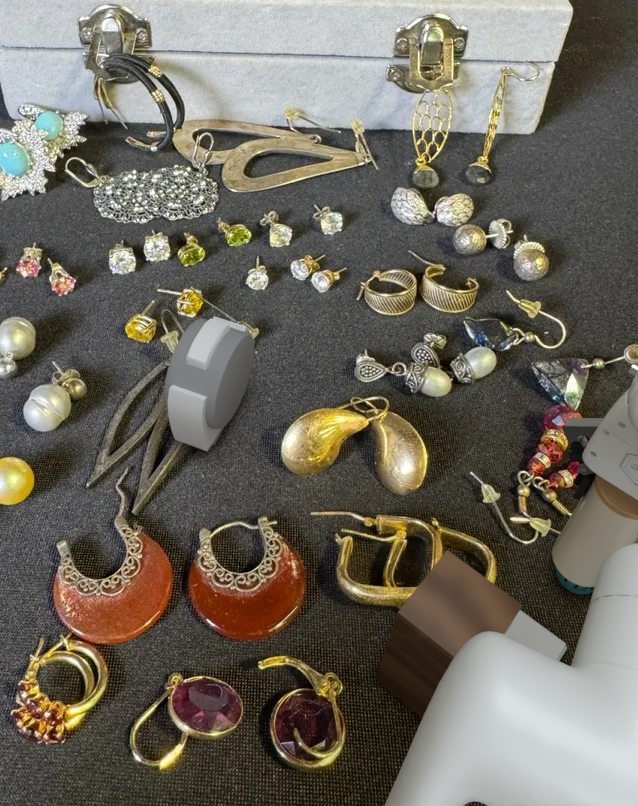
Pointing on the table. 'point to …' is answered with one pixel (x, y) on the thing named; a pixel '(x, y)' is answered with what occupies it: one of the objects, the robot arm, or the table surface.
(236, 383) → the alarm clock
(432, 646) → the wooden block
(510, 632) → the scale
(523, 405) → the table surface
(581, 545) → the canister
